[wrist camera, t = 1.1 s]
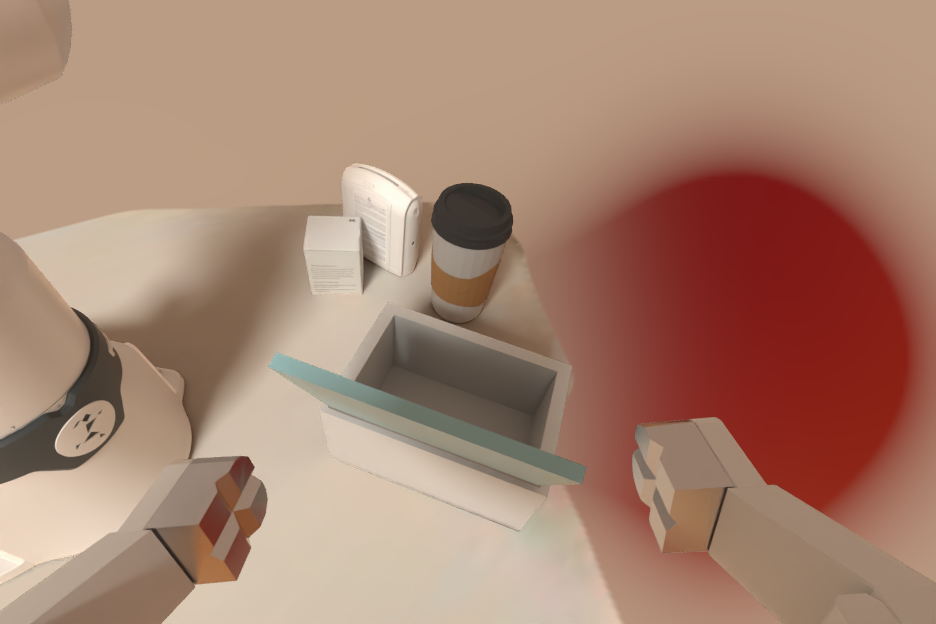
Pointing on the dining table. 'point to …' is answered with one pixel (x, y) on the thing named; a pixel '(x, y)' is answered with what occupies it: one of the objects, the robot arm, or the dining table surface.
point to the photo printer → (384, 216)
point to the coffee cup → (467, 248)
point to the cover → (430, 426)
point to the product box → (334, 255)
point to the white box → (452, 410)
